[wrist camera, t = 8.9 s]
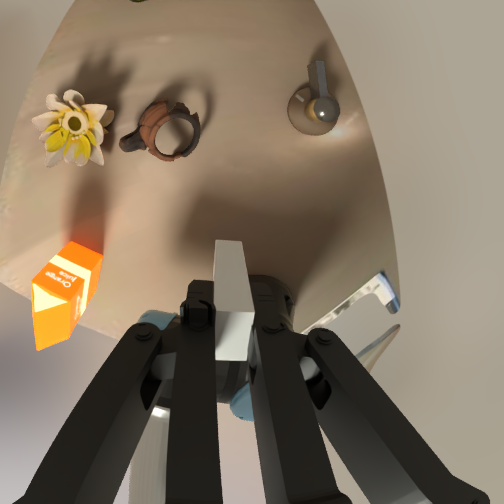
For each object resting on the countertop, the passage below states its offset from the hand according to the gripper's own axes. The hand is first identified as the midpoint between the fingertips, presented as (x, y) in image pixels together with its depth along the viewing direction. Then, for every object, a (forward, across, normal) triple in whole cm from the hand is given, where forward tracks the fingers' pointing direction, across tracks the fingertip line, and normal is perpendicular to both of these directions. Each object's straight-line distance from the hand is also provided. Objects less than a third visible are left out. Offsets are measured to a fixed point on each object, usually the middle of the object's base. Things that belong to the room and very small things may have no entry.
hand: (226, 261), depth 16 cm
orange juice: (+29, -26, -18) cm, 43 cm away
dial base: (+28, +13, +13) cm, 33 cm away
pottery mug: (+29, -10, +7) cm, 31 cm away
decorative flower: (+29, -25, +8) cm, 39 cm away
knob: (+27, +12, +15) cm, 33 cm away
